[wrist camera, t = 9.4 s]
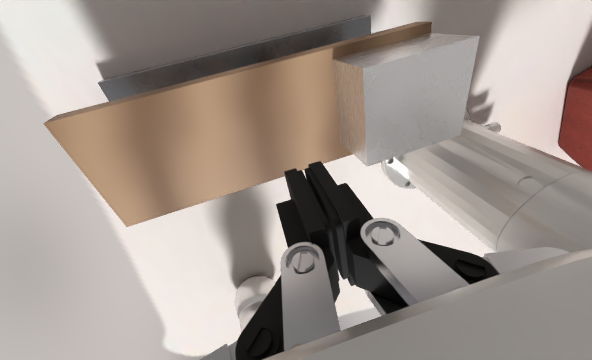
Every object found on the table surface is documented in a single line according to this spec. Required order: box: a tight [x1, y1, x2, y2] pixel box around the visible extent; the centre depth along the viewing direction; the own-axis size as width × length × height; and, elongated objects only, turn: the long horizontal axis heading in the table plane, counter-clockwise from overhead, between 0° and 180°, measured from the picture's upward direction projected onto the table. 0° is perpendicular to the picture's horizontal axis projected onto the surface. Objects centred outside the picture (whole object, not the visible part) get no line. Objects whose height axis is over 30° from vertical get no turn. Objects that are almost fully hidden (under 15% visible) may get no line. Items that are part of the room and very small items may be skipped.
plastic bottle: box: [235, 276, 275, 332], centre depth 32 cm, size 6×7×20 cm
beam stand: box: [98, 15, 371, 102], centre depth 22 cm, size 24×9×8 cm, turn 101°
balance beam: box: [44, 22, 432, 227], centre depth 18 cm, size 24×8×2 cm, turn 101°
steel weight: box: [332, 33, 480, 166], centre depth 17 cm, size 7×6×4 cm
